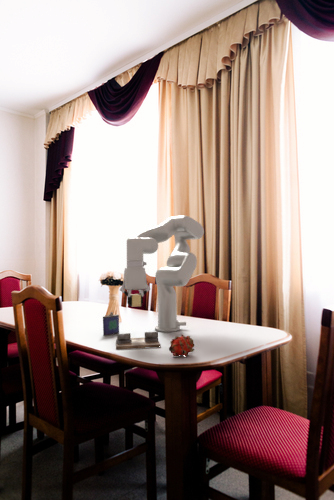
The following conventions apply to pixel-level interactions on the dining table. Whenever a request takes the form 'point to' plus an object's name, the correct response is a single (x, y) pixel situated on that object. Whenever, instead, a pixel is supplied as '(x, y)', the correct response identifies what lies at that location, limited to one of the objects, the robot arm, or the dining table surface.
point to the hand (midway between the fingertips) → (135, 304)
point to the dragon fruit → (181, 345)
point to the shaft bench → (137, 341)
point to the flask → (110, 324)
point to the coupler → (136, 300)
